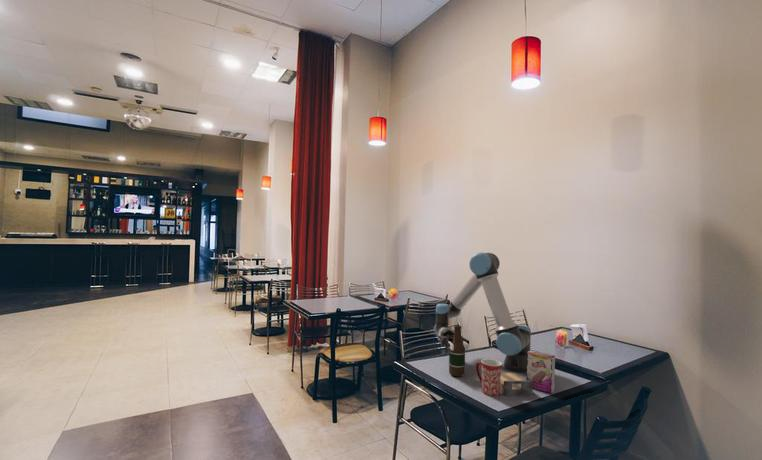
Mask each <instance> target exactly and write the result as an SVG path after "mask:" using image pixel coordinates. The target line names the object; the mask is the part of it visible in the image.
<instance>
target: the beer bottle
mask: <svg viewBox="0 0 762 460" xmlns="http://www.w3.org/2000/svg"><path fill="white" fill-rule="evenodd" d="M453 328H454V329H453V330H454V331H453V332H454V339H453V342H452V344H453V345H454V350H451V349H450V348H449V351H448V352H449V353H448V355H449V356H448V357H449V358H448V373H449V374H450V375H451V376H454V377H463V376H464V375H465V372H466V371H465V370H466V369H465V368H466V349H465V348H464V345H463V343H462V340H461V336H462V325H459V324H456V325H454V326H453Z"/></svg>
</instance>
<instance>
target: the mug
mask: <svg viewBox="0 0 762 460" xmlns="http://www.w3.org/2000/svg"><path fill="white" fill-rule="evenodd" d="M479 365H480V366H481V374H480V370H479ZM502 365H503V363H502V362H501V361H499V360H496V359H493V358H492V359H491V358H484V359H481V360H480V361H477V362H476V363H475V373H476V376H477V377H478V380H479V382H480V384H481V392H482V393H483V394H484V395H487V396H490V397H497V396H499V395H500V391H499V388H500V377H501V373H502Z"/></svg>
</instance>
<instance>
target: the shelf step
mask: <svg viewBox="0 0 762 460" xmlns="http://www.w3.org/2000/svg"><path fill="white" fill-rule="evenodd" d="M532 385H533V381H527V380H525V379H524V378H523V377H521V376H520V375H519V374H517V373H516V372H501V377H500V388H499V393H501V394H502V395H503V396H533V388H532Z"/></svg>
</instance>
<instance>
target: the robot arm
mask: <svg viewBox="0 0 762 460" xmlns="http://www.w3.org/2000/svg"><path fill="white" fill-rule="evenodd" d="M468 264H469V269H470V271H471V272H472V273H473V275H472V276H471V277H470V279H468V280H467V282H466V283H465V284H464V286H463V287H462V288H461V289H460V291H458V293H457V294H456V296H455V297H454V298H453V299H452V300H451V302H450V303H449V304H447V303H436V306H435V325H434V327H433V331H434V334H435V336H436V337H437V341H438V342H439V343H440V345H441V346H442V347H444V346H445V348H446V349H447V348H449V349H451V350H454V345H453V344H452V342H453V339H454V331H452V330H451V329H450V328H449V325H450V323H449V322H450V321H449V320H450V319H453V318H457V317H458V316H460V315H461V313H462V312H461V311H462V310H463V309H464V308H465V306H466V305H467V303H469V301H471V299H472V298H473V297H474V295H475V294H476V293H477V292H478V290H480V288H481V287H482V288H483V292H484V294H485V297H486V300H487V303H488V307H489V309H490V312H491V314H492V317H493V319H494V323H495V326H496V327H495V328H494V329H495V330H494V331H495V335H496V339H495V342H496V343H495V344H496V347H497V349H498V351H500V352H501V353H502V354H503V355H505V358H504V360H503V367H504V368H506V370H507V369H508V370H510V371H514V372H518V373H527V352H528V351H530V350H531V346H532V345H531V344H532V343H531V342H532V341H531V339H532V338H531V336H532V331H531V327H530V326H528V325H525V324H524V325H523V324H518V323H515V322H514V321H513V319H512V315H511V313H510V310H509V307H508V303H507V302H506V299H505V296H504V293H503V291H502V288H501V285H500V283H499V280H498V276H499V271H498V270H499V269H500V264H501V263H500V258H499V257H498V256H497V255H496V254H494V253H491V252H477V253H475V254H473V255H472V257H470V260H469V263H468ZM461 340H462V343H463V345H464V348H465V351H469V350H470V341H469V340H468V339H467V338H465V337H463V336H462V335H461Z"/></svg>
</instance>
